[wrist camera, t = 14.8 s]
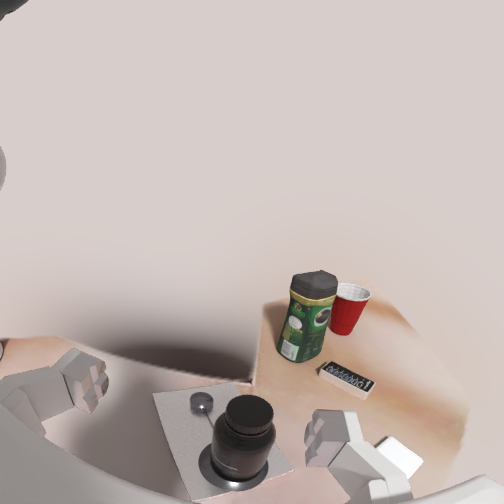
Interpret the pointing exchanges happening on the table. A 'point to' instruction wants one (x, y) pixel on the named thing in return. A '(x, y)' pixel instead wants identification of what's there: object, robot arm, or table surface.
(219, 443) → the supplement bottle
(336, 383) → the multiport hub
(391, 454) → the external hard drive
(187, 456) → the plate
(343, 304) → the plastic cup
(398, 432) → the table surface
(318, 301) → the coffee jar
